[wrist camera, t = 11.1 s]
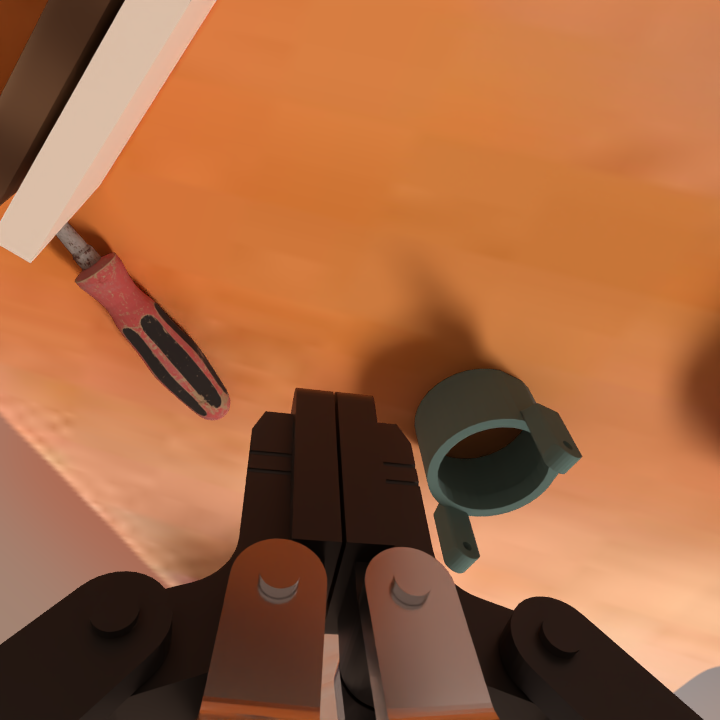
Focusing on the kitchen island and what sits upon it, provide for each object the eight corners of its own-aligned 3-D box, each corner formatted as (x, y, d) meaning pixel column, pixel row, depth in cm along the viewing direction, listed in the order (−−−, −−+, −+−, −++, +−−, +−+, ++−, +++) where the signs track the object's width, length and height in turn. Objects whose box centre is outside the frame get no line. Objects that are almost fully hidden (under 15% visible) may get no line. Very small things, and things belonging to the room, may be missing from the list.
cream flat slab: (303, -264, 22) (302, -382, 14) (361, -195, 23) (390, -269, 15) (58, 157, 29) (-29, 228, 21) (111, 193, 30) (47, 273, 23)
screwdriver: (-132, 25, 26) (-177, 32, 23) (-81, -11, 25) (-123, -8, 23) (206, 409, 39) (199, 439, 37) (244, 390, 38) (240, 420, 36)
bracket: (421, 474, 44) (446, 580, 36) (407, 374, 38) (433, 475, 31) (542, 452, 44) (592, 554, 36) (544, 350, 38) (603, 445, 31)
